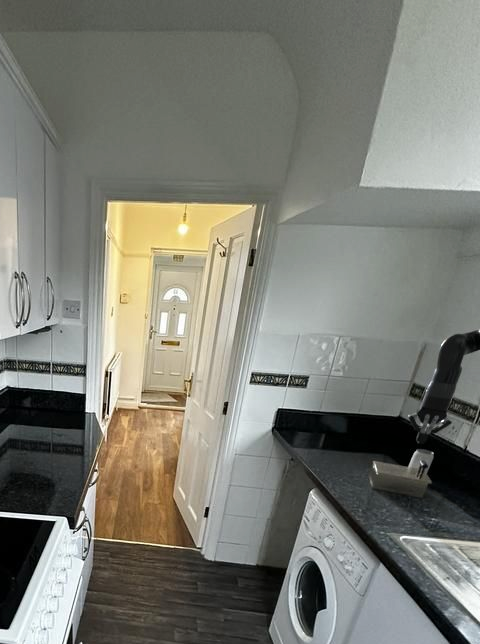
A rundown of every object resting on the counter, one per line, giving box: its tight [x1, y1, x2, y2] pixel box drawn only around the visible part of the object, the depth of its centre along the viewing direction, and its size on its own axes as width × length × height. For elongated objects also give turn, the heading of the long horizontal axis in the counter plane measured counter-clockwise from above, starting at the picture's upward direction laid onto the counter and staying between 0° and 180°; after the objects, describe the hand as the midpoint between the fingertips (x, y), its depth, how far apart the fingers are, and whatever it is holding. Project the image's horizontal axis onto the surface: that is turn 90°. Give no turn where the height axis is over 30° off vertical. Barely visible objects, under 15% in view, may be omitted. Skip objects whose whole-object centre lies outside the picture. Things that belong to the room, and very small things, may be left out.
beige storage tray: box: [367, 463, 429, 499], centre depth 160 cm, size 16×14×6 cm
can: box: [407, 448, 435, 475], centre depth 167 cm, size 6×6×12 cm
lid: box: [372, 460, 433, 485], centre depth 157 cm, size 17×14×6 cm
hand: (420, 442), depth 149 cm, fingers closed
